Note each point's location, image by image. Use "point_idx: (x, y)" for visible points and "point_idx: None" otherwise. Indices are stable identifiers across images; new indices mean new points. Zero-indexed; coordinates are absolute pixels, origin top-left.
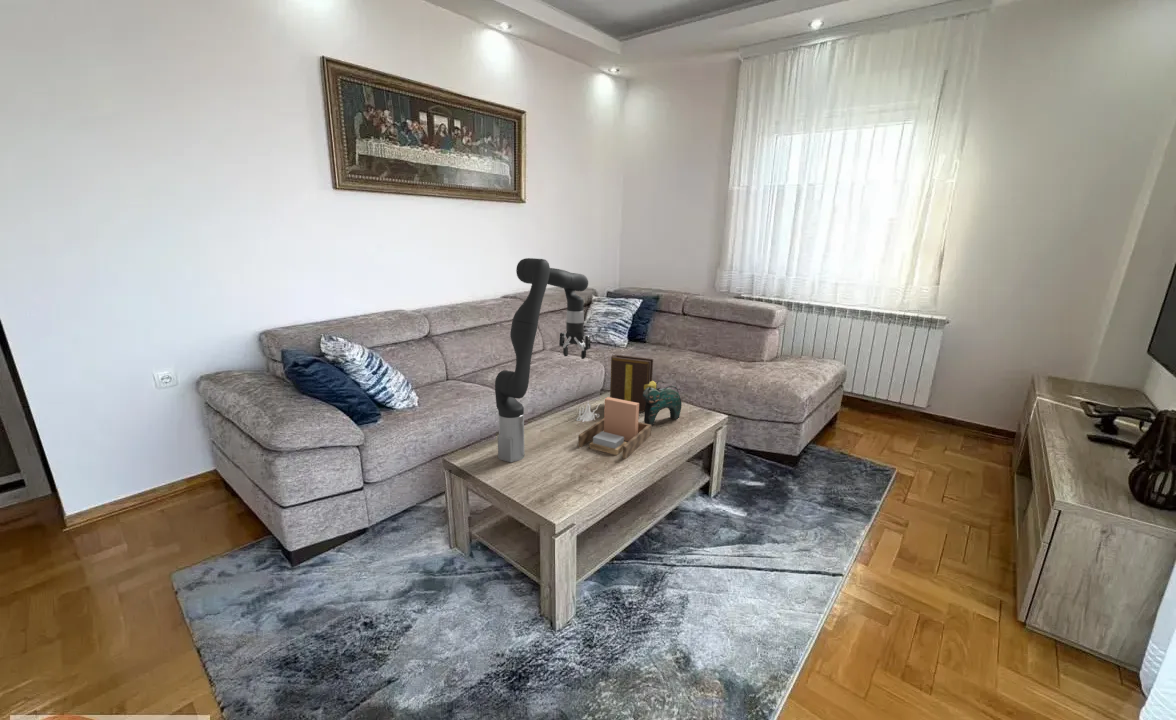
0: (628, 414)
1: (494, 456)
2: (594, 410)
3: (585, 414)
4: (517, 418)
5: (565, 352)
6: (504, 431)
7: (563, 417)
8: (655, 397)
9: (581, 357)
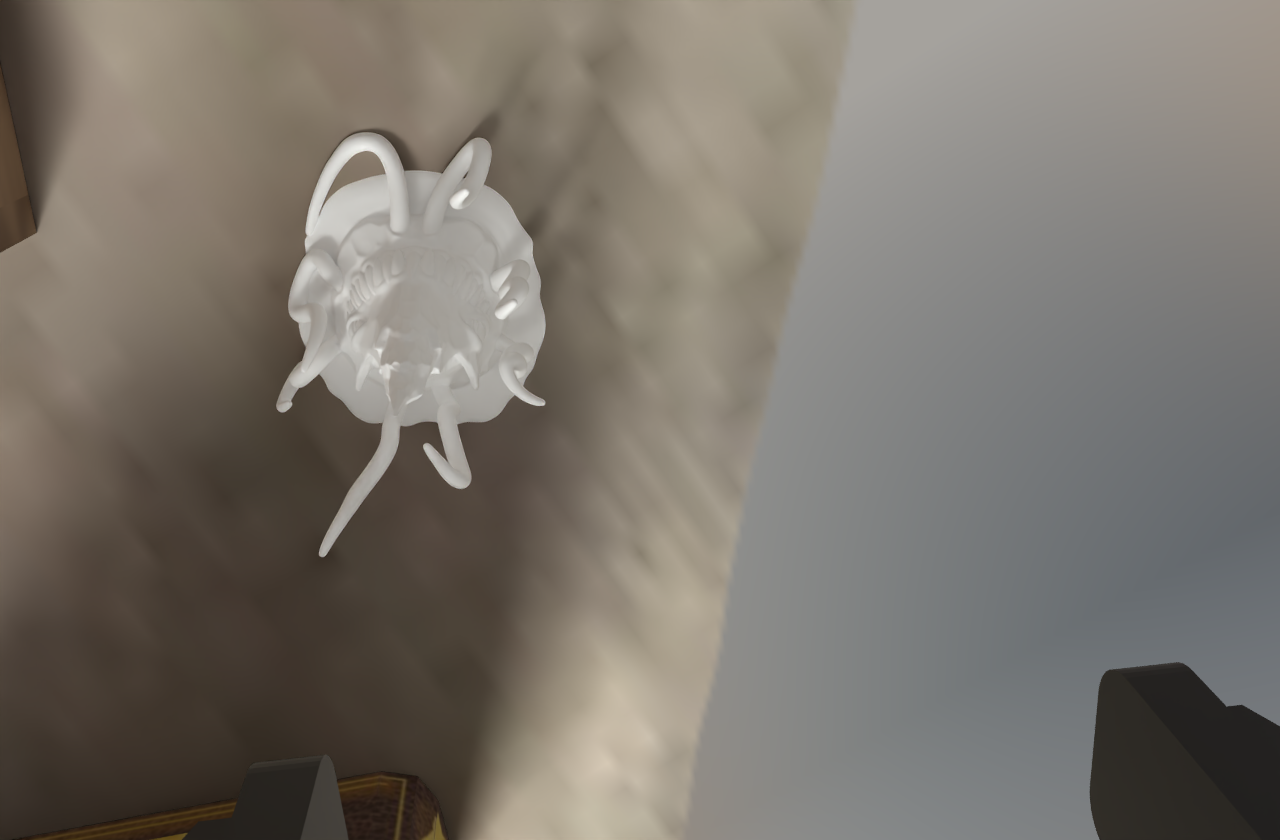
0: None
1: None
2: (377, 449)
3: (404, 266)
4: None
5: (1203, 762)
6: None
7: (718, 159)
8: None
9: (307, 780)
